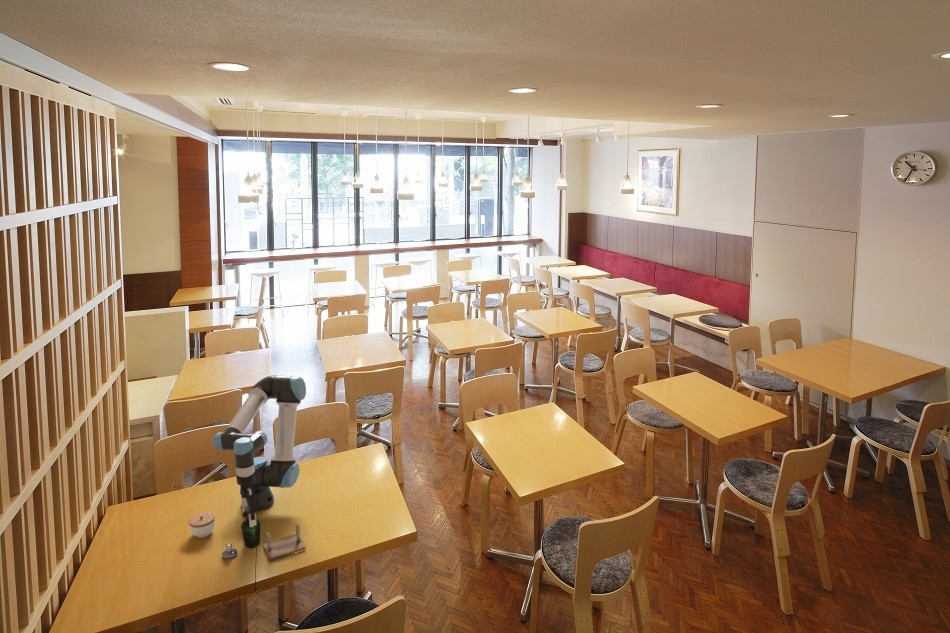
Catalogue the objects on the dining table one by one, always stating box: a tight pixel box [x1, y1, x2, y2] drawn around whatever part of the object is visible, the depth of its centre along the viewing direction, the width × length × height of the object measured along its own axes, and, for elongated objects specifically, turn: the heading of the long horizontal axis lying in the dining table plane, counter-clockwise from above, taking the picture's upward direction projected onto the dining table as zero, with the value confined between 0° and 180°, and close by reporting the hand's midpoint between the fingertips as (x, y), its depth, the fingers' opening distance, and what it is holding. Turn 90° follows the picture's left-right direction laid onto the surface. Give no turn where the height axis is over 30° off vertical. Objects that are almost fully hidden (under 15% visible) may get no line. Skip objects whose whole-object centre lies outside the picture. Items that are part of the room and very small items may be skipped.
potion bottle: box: [240, 506, 261, 549], centre depth 255 cm, size 8×8×18 cm
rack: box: [262, 523, 307, 563], centre depth 253 cm, size 12×15×10 cm
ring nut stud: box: [221, 542, 238, 561], centre depth 249 cm, size 6×6×5 cm
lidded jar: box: [188, 511, 216, 539], centre depth 264 cm, size 11×11×9 cm
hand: (249, 518), depth 254 cm, fingers open, 13 cm apart
